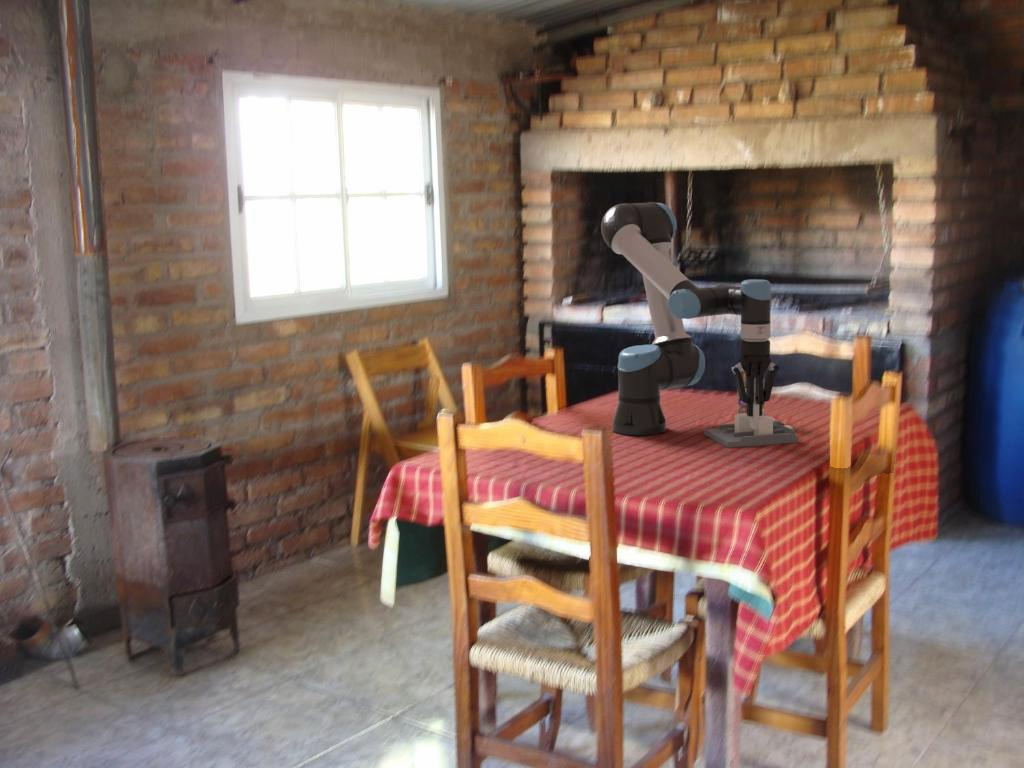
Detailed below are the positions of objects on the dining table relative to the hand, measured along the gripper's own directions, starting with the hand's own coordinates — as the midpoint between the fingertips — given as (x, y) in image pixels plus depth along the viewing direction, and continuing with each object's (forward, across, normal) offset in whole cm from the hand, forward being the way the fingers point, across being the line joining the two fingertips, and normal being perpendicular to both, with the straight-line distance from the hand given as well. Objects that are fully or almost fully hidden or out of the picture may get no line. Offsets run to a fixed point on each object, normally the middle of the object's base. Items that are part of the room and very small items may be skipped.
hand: (754, 428), depth 290 cm
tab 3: (+2, +3, 0) cm, 4 cm away
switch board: (+4, +1, +5) cm, 7 cm away
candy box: (+4, +9, +23) cm, 25 cm away
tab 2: (+2, +5, +10) cm, 12 cm away
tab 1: (+2, -1, +5) cm, 6 cm away
